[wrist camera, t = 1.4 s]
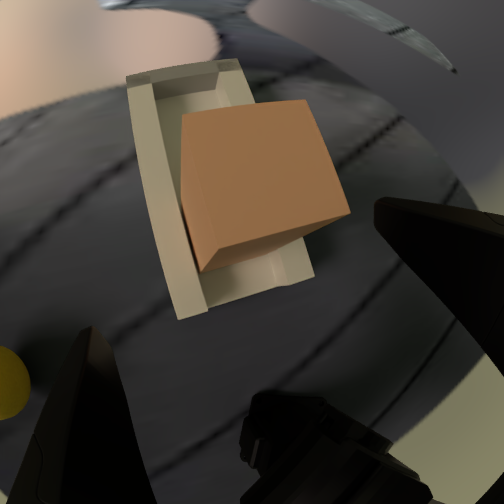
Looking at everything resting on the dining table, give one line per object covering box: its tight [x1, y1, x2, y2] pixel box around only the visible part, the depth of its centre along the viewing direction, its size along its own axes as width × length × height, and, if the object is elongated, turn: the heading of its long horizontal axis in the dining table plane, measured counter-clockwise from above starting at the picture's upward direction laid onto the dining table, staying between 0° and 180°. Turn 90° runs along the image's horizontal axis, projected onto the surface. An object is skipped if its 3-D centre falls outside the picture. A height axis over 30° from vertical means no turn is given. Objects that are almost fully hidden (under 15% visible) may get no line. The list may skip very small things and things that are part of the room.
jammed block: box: [181, 100, 351, 274], centre depth 16 cm, size 5×5×12 cm
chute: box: [126, 59, 315, 320], centre depth 21 cm, size 19×10×4 cm, turn 17°
